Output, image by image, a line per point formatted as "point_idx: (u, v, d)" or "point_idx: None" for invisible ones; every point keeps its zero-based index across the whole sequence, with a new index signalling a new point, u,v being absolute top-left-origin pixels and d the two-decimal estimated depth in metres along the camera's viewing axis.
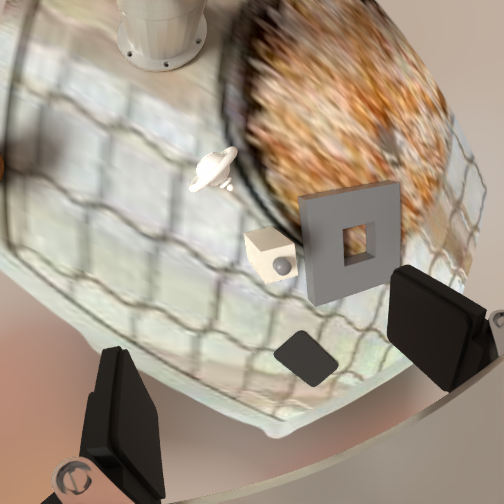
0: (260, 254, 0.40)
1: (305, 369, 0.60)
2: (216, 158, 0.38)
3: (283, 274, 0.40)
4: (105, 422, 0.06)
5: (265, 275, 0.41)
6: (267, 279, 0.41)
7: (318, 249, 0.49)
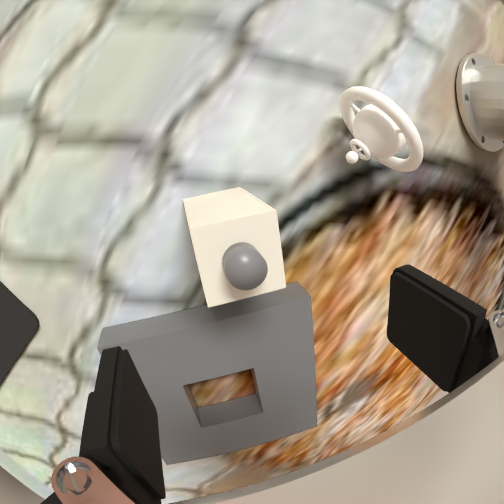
0: (264, 210, 0.17)
1: None
2: None
3: (230, 272, 0.15)
4: (105, 422, 0.06)
5: (213, 226, 0.16)
6: (202, 232, 0.16)
7: (217, 334, 0.25)
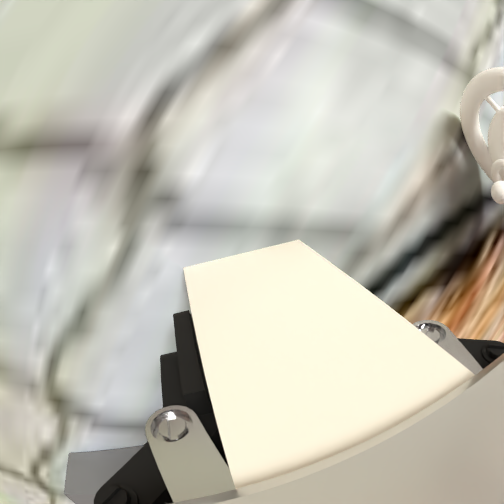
0: (455, 385, 0.04)
1: None
2: None
3: None
4: (196, 370, 0.07)
5: None
6: None
7: None
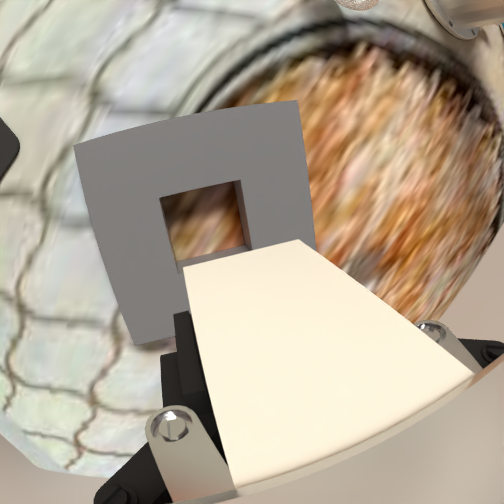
0: (456, 385, 0.04)
1: None
2: None
3: None
4: (196, 370, 0.07)
5: None
6: None
7: (201, 129, 0.23)
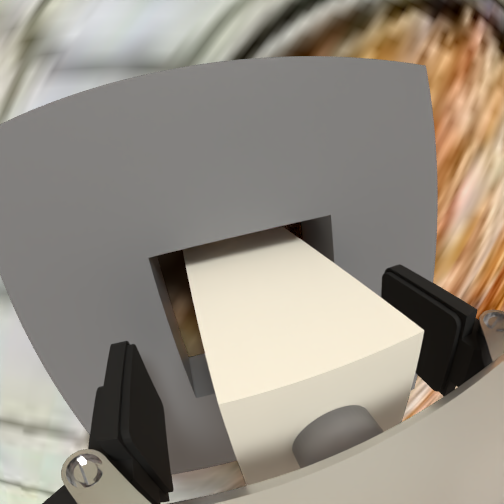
0: (396, 329, 0.06)
1: None
2: None
3: None
4: (115, 414, 0.06)
5: (283, 391, 0.05)
6: (252, 407, 0.05)
7: (251, 95, 0.09)
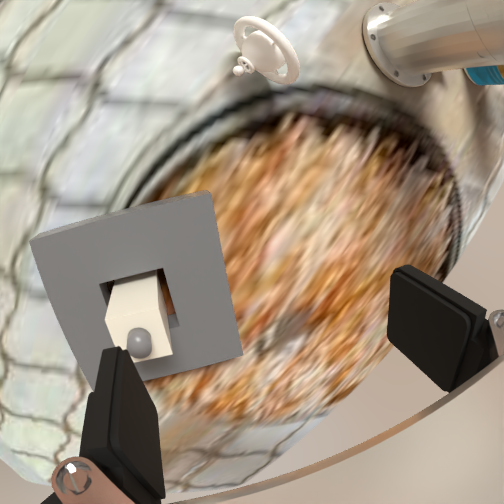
0: (152, 307, 0.24)
1: None
2: None
3: (128, 348, 0.22)
4: (105, 422, 0.06)
5: (119, 318, 0.23)
6: (112, 321, 0.23)
7: (127, 227, 0.27)
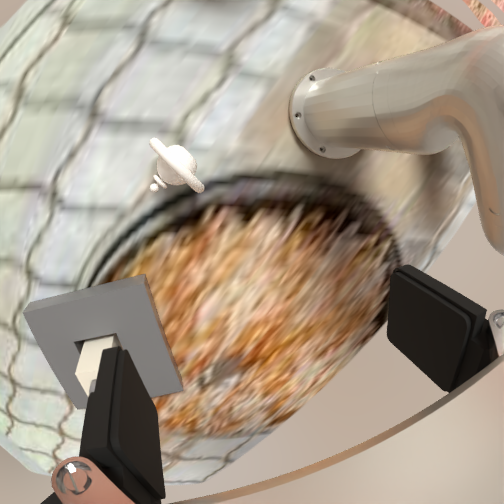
0: None
1: None
2: (191, 167, 0.31)
3: None
4: (105, 422, 0.06)
5: (83, 373, 0.31)
6: (80, 375, 0.31)
7: (87, 306, 0.35)
